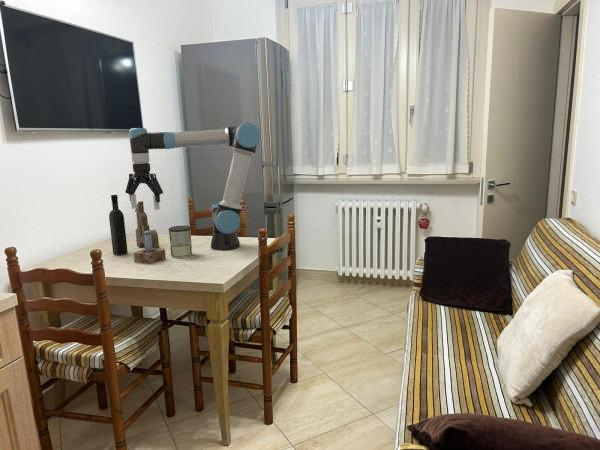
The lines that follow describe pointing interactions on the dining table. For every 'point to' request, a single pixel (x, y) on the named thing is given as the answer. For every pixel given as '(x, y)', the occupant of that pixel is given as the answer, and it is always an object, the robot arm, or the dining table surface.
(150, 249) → the grey rod
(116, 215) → the wine bottle
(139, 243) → the wooden toy
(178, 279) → the dining table surface
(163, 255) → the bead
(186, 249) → the glass jar
